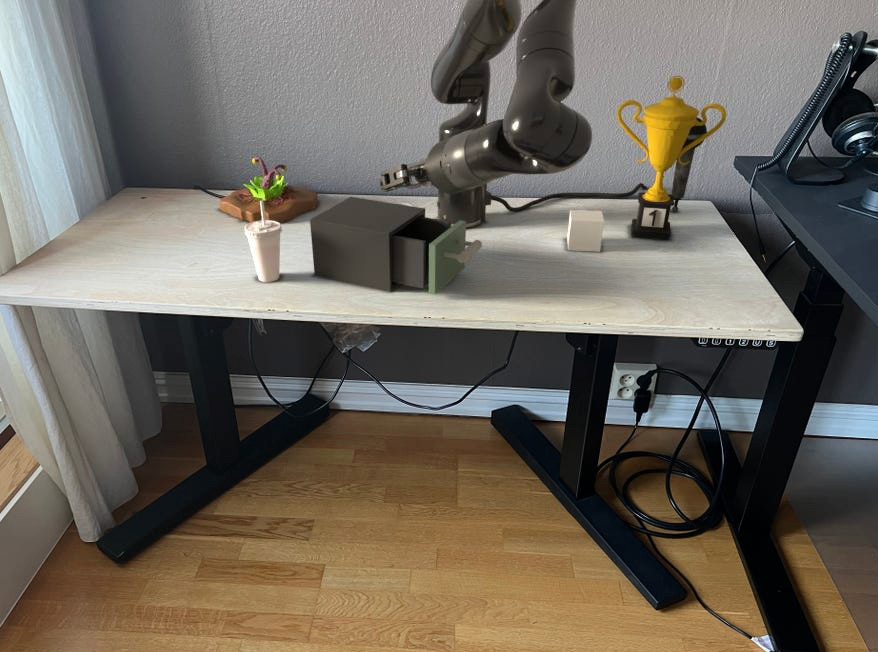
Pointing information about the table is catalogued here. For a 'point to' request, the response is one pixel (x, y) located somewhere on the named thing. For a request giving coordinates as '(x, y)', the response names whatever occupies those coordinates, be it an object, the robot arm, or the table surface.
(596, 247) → the off-white cube
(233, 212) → the plant
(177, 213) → the table surface
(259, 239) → the smoothie
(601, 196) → the robot arm
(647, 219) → the trophy
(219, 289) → the table surface
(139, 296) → the table surface
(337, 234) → the cabinet
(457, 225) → the drawer
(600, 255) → the table surface
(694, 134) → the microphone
